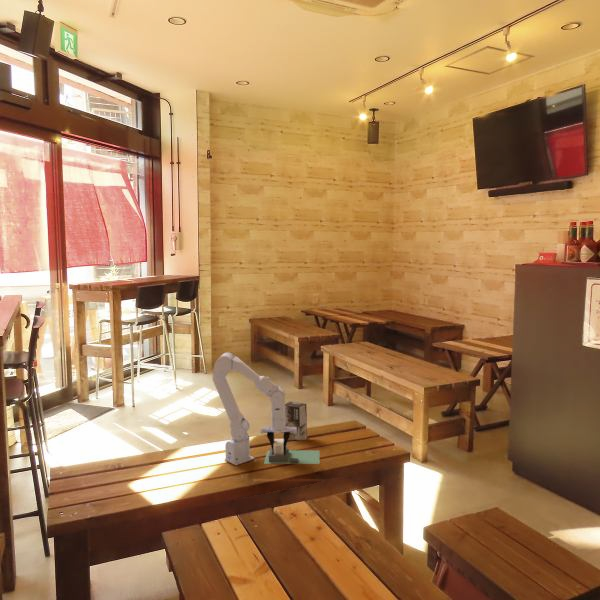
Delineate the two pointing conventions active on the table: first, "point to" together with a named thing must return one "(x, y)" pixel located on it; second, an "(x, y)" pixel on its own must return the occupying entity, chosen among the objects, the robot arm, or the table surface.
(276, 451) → the plug
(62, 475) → the table surface
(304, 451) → the board
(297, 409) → the coffee box
